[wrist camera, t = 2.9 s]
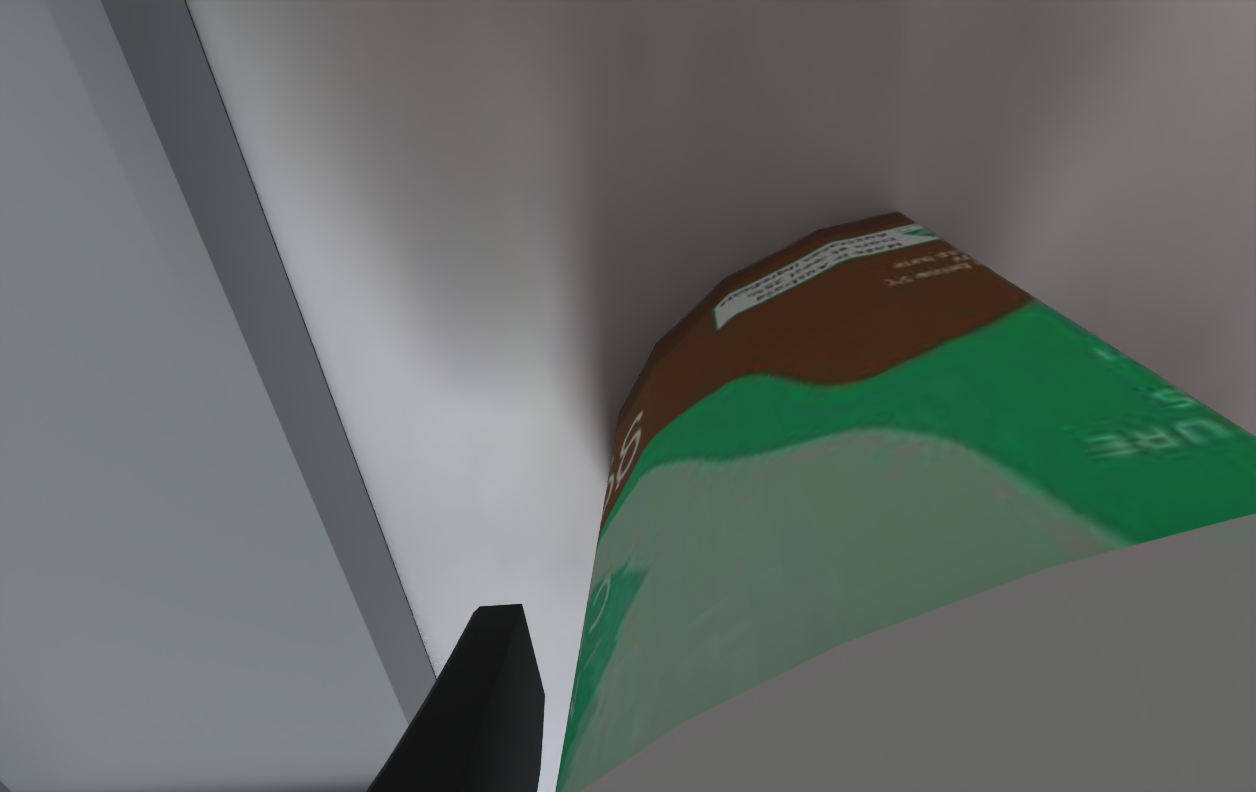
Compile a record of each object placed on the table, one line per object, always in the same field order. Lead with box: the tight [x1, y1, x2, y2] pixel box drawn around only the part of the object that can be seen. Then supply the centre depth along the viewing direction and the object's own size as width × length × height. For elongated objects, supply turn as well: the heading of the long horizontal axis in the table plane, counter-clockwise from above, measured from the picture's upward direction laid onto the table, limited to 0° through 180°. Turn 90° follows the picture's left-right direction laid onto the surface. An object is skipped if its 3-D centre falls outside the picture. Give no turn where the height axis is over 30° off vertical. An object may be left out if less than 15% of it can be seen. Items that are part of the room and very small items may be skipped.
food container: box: [556, 212, 1256, 792], centre depth 9 cm, size 12×6×10 cm, turn 9°
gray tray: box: [0, 0, 436, 792], centre depth 13 cm, size 12×20×2 cm, turn 6°
